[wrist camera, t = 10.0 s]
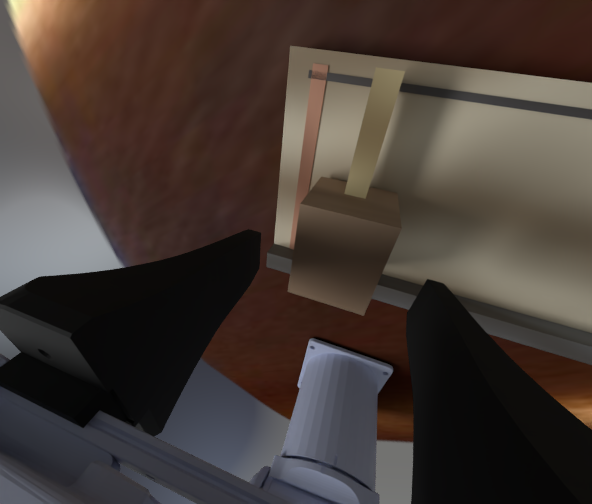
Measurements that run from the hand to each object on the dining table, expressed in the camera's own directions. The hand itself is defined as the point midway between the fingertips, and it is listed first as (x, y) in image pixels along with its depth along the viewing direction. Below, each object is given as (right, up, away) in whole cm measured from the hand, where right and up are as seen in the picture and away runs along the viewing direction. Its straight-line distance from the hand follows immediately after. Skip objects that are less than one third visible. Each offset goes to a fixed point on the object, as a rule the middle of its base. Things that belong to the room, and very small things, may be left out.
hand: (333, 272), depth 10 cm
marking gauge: (+2, +4, +2) cm, 5 cm away
